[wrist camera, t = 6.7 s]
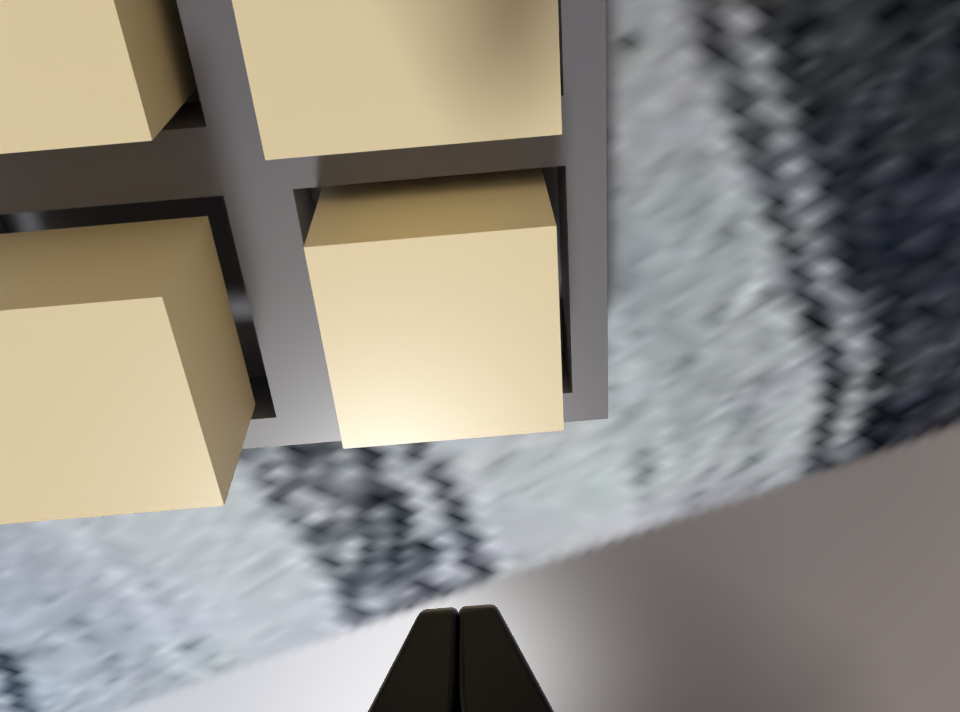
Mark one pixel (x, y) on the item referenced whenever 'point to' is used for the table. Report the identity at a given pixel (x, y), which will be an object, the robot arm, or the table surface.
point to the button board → (293, 199)
